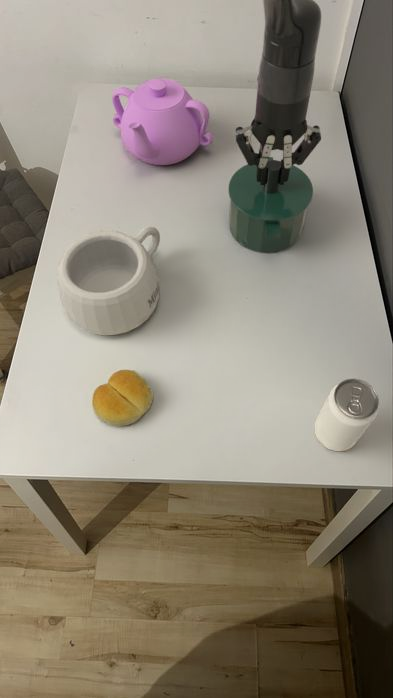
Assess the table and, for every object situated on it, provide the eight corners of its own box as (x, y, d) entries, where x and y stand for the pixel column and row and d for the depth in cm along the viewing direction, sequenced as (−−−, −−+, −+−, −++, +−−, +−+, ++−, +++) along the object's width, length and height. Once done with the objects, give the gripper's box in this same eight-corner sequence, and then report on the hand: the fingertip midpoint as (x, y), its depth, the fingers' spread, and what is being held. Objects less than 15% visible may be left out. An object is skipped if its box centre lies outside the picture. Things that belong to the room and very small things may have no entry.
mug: (117, 358, 81) (106, 325, 72) (45, 308, 86) (26, 271, 78) (197, 273, 89) (195, 235, 81) (126, 232, 95) (118, 191, 86)
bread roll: (84, 404, 77) (78, 393, 74) (128, 367, 80) (124, 355, 77) (118, 440, 74) (113, 430, 71) (163, 400, 77) (160, 390, 74)
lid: (307, 164, 91) (313, 135, 86) (316, 223, 84) (323, 196, 79) (227, 165, 91) (228, 136, 86) (229, 224, 84) (230, 197, 79)
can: (311, 446, 73) (327, 415, 63) (316, 406, 76) (333, 371, 66) (356, 456, 72) (380, 427, 62) (359, 415, 75) (383, 381, 65)
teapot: (91, 176, 102) (75, 115, 90) (131, 111, 112) (121, 48, 100) (193, 198, 98) (190, 138, 86) (224, 129, 108) (226, 66, 96)
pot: (297, 188, 99) (304, 153, 92) (306, 264, 90) (315, 231, 82) (228, 189, 99) (229, 154, 92) (230, 265, 90) (232, 232, 83)
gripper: (235, 103, 69) (231, 198, 84) (337, 101, 68) (315, 196, 83) (234, 70, 72) (230, 167, 87) (331, 68, 72) (310, 166, 87)
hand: (271, 181), depth 85 cm, fingers closed on lid, 2 cm apart
